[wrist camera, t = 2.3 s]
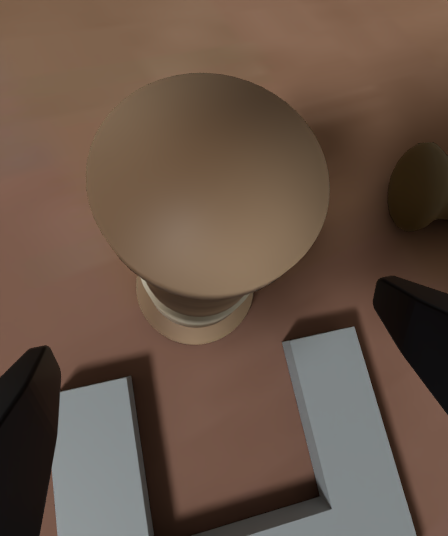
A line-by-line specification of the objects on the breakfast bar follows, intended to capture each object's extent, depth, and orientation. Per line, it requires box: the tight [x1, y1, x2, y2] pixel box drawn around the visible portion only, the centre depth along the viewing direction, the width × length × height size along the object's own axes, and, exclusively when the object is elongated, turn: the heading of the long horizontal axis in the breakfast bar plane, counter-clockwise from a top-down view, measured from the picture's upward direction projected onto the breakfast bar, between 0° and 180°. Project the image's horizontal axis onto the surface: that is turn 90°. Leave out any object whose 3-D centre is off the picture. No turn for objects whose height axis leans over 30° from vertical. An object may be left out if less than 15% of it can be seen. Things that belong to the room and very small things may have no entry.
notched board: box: [52, 327, 417, 536], centre depth 17 cm, size 12×16×2 cm
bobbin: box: [86, 73, 330, 345], centre depth 13 cm, size 6×6×13 cm
